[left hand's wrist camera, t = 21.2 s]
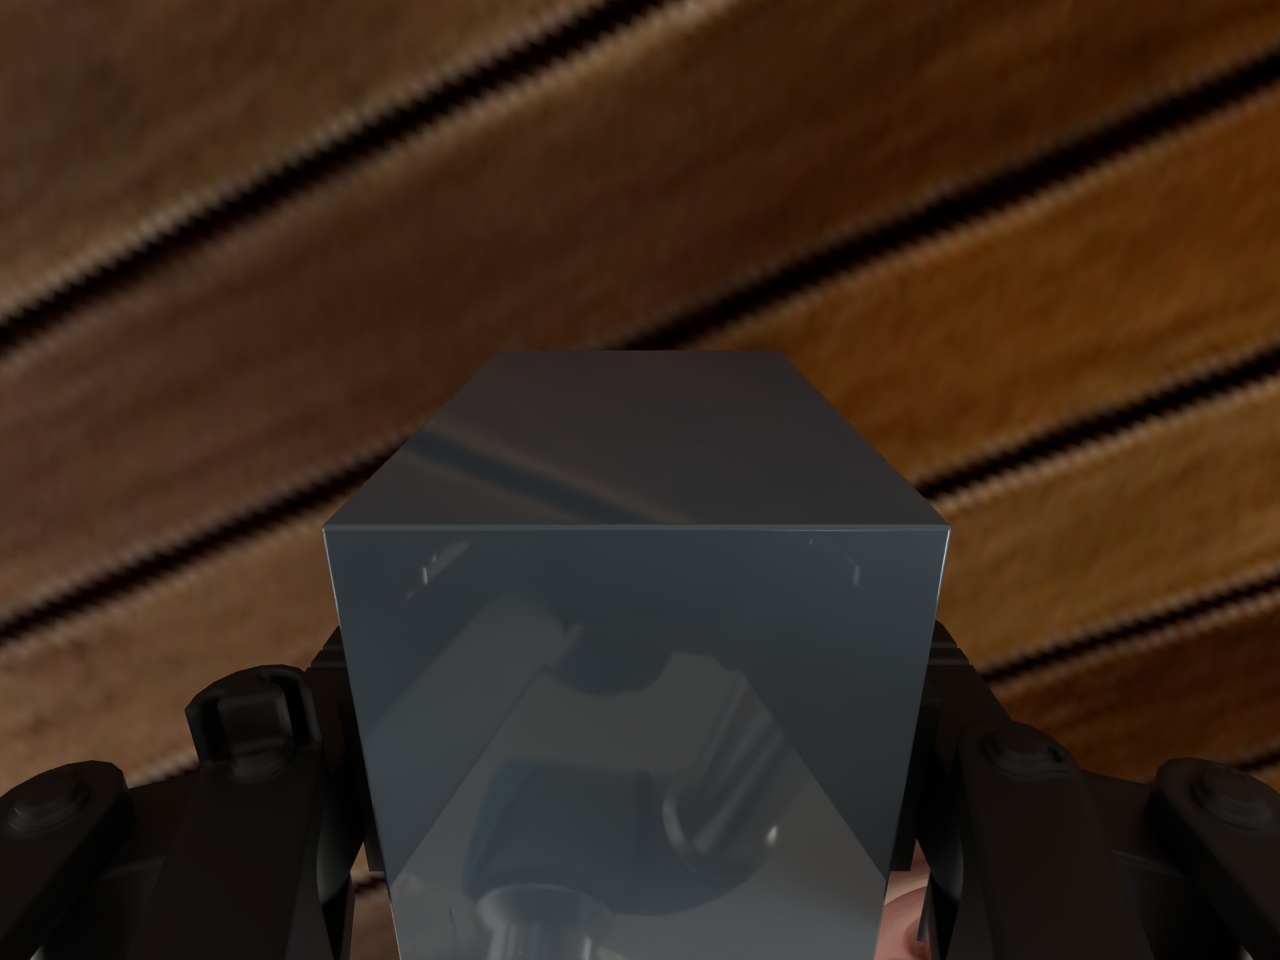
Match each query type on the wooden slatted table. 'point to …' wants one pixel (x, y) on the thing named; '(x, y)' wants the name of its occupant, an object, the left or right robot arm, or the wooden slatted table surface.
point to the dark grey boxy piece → (637, 662)
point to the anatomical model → (904, 913)
